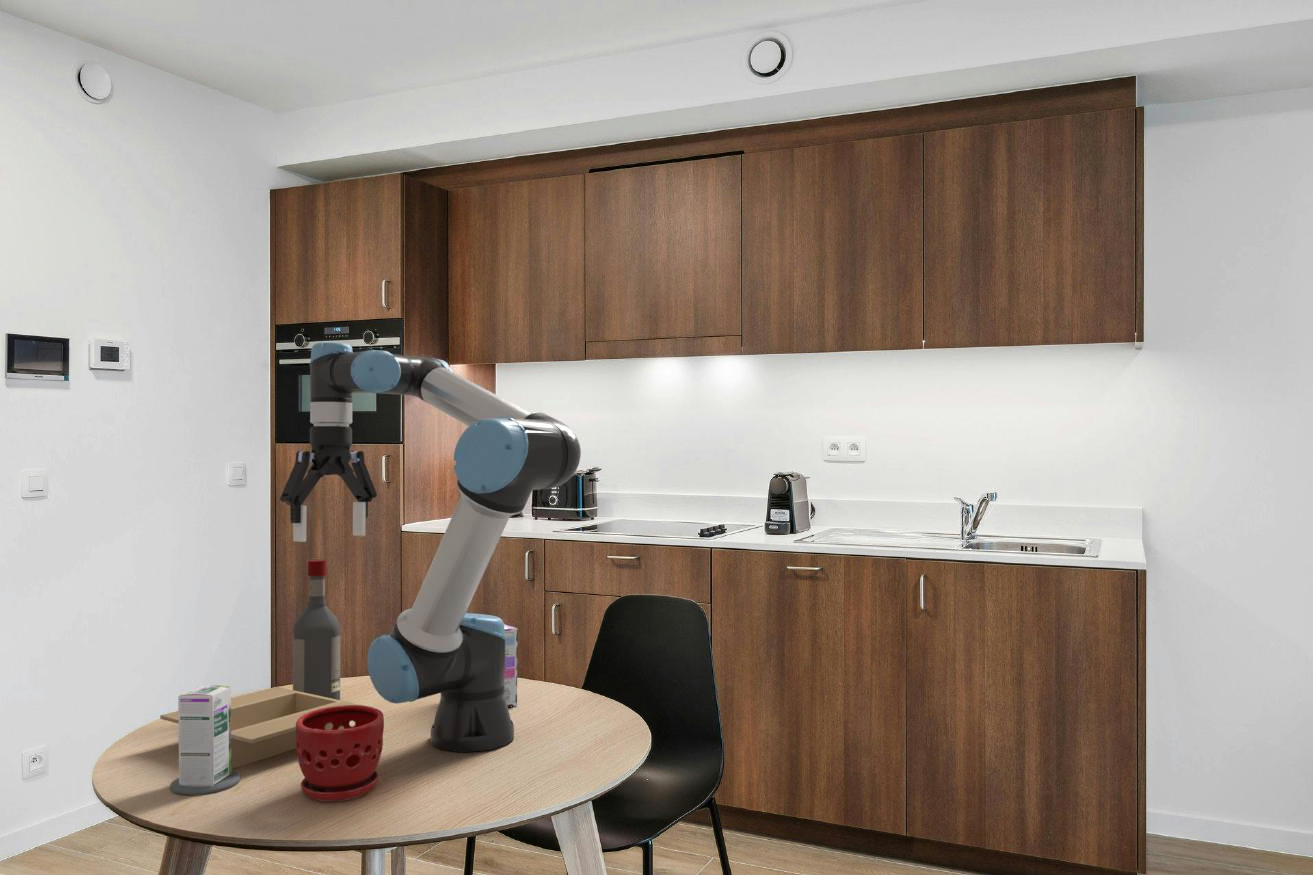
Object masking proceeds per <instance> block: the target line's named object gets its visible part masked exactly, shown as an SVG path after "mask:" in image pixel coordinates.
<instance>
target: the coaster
mask: <svg viewBox="0 0 1313 875" xmlns="http://www.w3.org/2000/svg"><path fill="white" fill-rule="evenodd" d="M240 781H241V774H240V773H239V772H237V771H235V770H232V773H231V775H229V776H227V777H226V778H224V779H222V780H221V781H219V782H218V783H216V784H215V785H214V786H213V787H199V786H182V785H179V777H177V778H175V779H174V780H173V781H171V783H170V791H171V792H172V793H173V794H176V795H181V796H203V795H209V794H210V795H211V794H215V793H218V792H219V793H220V792H223V791H225V790H228V789H231V788H233V787H235V786H237V785H238V784H239V783H240Z"/></svg>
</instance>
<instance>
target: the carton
mask: <svg viewBox="0 0 1313 875" xmlns="http://www.w3.org/2000/svg"><path fill="white" fill-rule="evenodd" d="M344 705H361V704H359V703H355V702H350V701H344V700H341V699H340V700H336V699H332V698H327V697H322V696H318V695H313V694H308V693H304V692H299V691H294V690H293V689H289V688H285V687H280V686H276V687H272V688H271V687H270V688H267V689H263V690H258V691H254V692H251V693H246V694H243V695H242V694H241V695H238V696H234V697H231V769H235V768H239V767H242V766H245V765H248V764H251V763H255V762H258V761H260V760H264V759H267V758H270V757H273V756H276V755H280V754H283V753H286V752H289V751H292V750H295V749H296V722H297V720H298V719H299V718H300V717H301V716H303V715H305V714H306V713H309V712H311V711H315V710H318V709H322V708H327V707H333V706H344ZM362 705H363V704H362ZM363 706H366V705H365V704H364V705H363ZM159 718H160V720H163V721H167V722H170V723H175V724H178V720H179V719H178V710H177V711H173V712H169V713H165V714H164V713H163V714H161V715H160V716H159ZM332 728H333V725H332V723H328V724H326V725H325V730H331V729H332ZM339 729H344V727H343V726H340V727H339ZM339 729H338V730H339ZM318 730H319V729H318ZM296 750H297V749H296Z"/></svg>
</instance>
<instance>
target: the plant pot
mask: <svg viewBox="0 0 1313 875" xmlns="http://www.w3.org/2000/svg"><path fill="white" fill-rule="evenodd" d="M350 722H354V725H352V726H351V725H350ZM328 723H332V725H333V728H332V729H331V730H325V725H326V724H328ZM340 726H343V727H344V729H339V727H340ZM318 729H319V730H318ZM338 729H339V730H338ZM384 729H385V717H384V713H383V712H382V710H380V709H378V708H375V707H373V706H370V705H369V706H367V705H365V706H363V704H360V705H344V706H333V707H327V708H322V709H318V710H315V711H311V712H309V713H306V714H305V715H303V716H301V717H300V718H299V719H298V720H297V722H296V756H297V761H298V765H299V769H300V770H301V773H302V775H303V777H304V778H303V779H302V781H301V783H300V788H301V791H302V792H303V793H304V794H305V796H307V797H309V798H310V799H312V800H316V801H321V802H332V803H333V802H343V801H349V800H355V799H357V798H359V797H362V796H364V795H366V794H369V792H371V791H372V790H374V788H375V787H376V786H377V785H378V784H379V783H378V782H379V779H380V776H379V773H378V771H376V769H377V767H378V765H379V762H380V759H381V756H382V753H383V752H382V751H383V745H384V741H383V740H384V739H383V737H384V736H383V735H384Z"/></svg>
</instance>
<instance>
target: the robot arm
mask: <svg viewBox="0 0 1313 875" xmlns="http://www.w3.org/2000/svg"><path fill="white" fill-rule="evenodd" d="M309 369H310V370H309V372H310V373H309V379H310V380H309V381H310V382H309V384H310V390H309V392H310V403H309V404H310V407H309V409H310V410H309V411H310V415H309V416H310V417H309V418H310V419H309V422H310V424H313V426H311V427H310V428H309V445H310V446H311V450H310V451H308V450H297V452H296V454H295V463H294V464H293V467H292V469H291V472H290V474H289V477H288V479H287V481H286V483H285V486H284V488H283V490H282V493H281V496H280V497H279V498H280V499H279V500H280V501H281V502H282V503H286V505H288V506H289V507H290V510H289V511H290V518H289V520H290V523H291V524H293V525H292V529H293V530H292V532H293V533H292V534H293V536H292V538H293V539H292V541H293V542H302V543H303V542H307V517H308V516H307V513H308V512H307V507H308V506H307V505H303V504H304V502H305V501H306V499H307V498H308V496H309V495H311V492H312V490H314V488H315V486H316V485H317V484H318V482H319V481H320V479H321V478H323V477H324V476H332V475H335V476H336V475H337V476H339V477H340V478H341V480H343V482H344V483H345V485H346V486H347V488H348V489H349V490H350V493H351V494H352V495H353V497H354V498H355V500H356V501H353V502H352V536H356V537H358V536H359V537H364V536H365V537H366V519H367V518H368V516H369V503H370V502H372V501H373V498H374V499H376V498H377V496H378V495H377V494H378V493H377V490H376V488H375V486H374V483H373V480H372V478H371V475H370V473H369V470H368V468H367V466H366V463H365V462H366V461H365V452H364V451H362V450H352V451H351V450H350V447H351V446H352V445H353V428H352V427H351V426H350V425H351V424H352V423H353V394H360V393H361V394H362V393H364V394H365V393H368V394H382V395H383V394H384V395H385V394H387V395H401V396H412V397H416V398H418V399H419V400H421V401H423V402H425V403H426V404H429V405H431V406H433V407H434V408H436V409H438V410H439V411H441V412H443V413H444V414H447V415H448V416H449V417H452V418H453V419H455V420H457V421H458V422H460V423H462V424H464V425H465V426H467V428H465V430H464V431H463V432H462V433H461V435H460V437H459V439H458V440H457V442H456V445H455V447H454V451H453V461H455V464H454V466H453V470H454V474H455V476H456V478H457V480H456V487H457V489H458V491H459V493H460V497H459V501H458V502H457V504H456V506H455V509H454V512H453V513H452V516H451V518H450V521H449V523H448V525H447V528H446V530H445V531H444V534H443V536H442V539H441V541H440V543H439V545H438V547H437V550H436V552H435V555H434V556H433V559H432V562H431V564H430V566H429V568H428V571H427V572H426V575H425V577H424V579H423V582H422V584H421V587H420V589H419V592H418V593H417V595H416V599H415V601H414V602H413V605H412V607H411V608H407V609H405V610H403V611H402V612H400V614H399V615H398V616H397V619H396V622H395V623H394V626H393V628H392V630H391V632H390V633H389V634H383V635H380V636H378V637H377V638H375V639H373V641H372V642H371V644H370V645H369V648H368V652H367V659H366V660H367V661H366V662H367V670H368V674H369V679H370V681H371V684H372V686H373V687H374V689H375V691H376V692H377V693H378V695H379V696H380V697H381V698H383V699H384V701H385V700H386V701H387V702H388V703H392V704H402V703H403V704H404V703H412V702H415V701H417V700H421V699H424V698H427V697H431V696H434V695H438V694H440V700H439V702H438V703H439V704H438V706H437V709H436V713H435V717H434V720H433V724H432V725H431V727H430V744H431V745H432V746H433V747H434V748H437V749H440V750H442V751H450V752H456V753H457V752H461V753H462V752H463V753H467V752H470V753H471V752H482V751H488V750H494V749H498V748H501V747H504V746H506V745H508V744H510V743H511V742H512V741H513V740H514V738H515V726H514V723H513V722H514V721H513V720H512V719H511V716H510V715H511V714H510V711H509V707H507V703H506V700H505V641H506V637H505V628H504V624H505V623H504V621H503V619H502V618H500V617H498V616H495V615H491V614H483V613H482V614H481V613H472V612H471V613H470V612H469V613H468V612H467V611H468V609H469V606H470V604H471V602H472V600H473V597H474V596H475V594H476V591H477V589H478V587H479V585H480V583H481V580H482V579H483V575H484V573H485V571H486V570H487V568H488V565H489V562H490V561H491V559H492V556H493V554H494V552H495V549H496V547H497V545H498V543H499V541H500V539H501V537H502V534H503V533H504V531H505V528H506V526H507V524H508V522H509V519H510V517H511V516H514V515H518V514H520V513H522V512H523V510H524V509H525V507H526V504H527V503H528V500H529V498H530V496H531V493H532V492H533V491H535V490H536V491H537V490H549V489H554V488H555V489H556V488H557V487H560V486H562V485H563V484H565V483H566V482H568V481H569V480H570V479H571V478H572V477H573V476H574V475H575V473H576V471H577V470H578V467H579V464H580V462H581V454H582V452H581V451H582V450H581V445H580V441H579V439H578V437H577V435H576V433H575V432H574V431H573V429H572V428H570V427H569V426H568V425H567V424H565V423H564V422H562V421H561V420H558V419H556V418H555V417H552V416H550V415H548V414H547V413H545V412H542V411H533V412H530V411H528V410H526V409H524V408H522V407H521V406H518V405H516V404H514V402H513V403H512V402H511V401H509V400H507V399H505V398H503V397H501V396H499V395H497V394H495V393H493V392H492V391H490V390H487V389H485V388H484V387H482V386H480V385H478V384H477V383H475V382H473V381H470V380H469V379H466V378H465V377H462V376H461V375H459V374H457V373H455V372H453V370H452V368H451V367H450V366H449V363H448V362H446V361H445V360H444V359H443V360H442V359H439V358H434V357H431V356H416V355H415V356H414V355H404V354H403V355H402V354H396V353H390V352H389V351H388V350H375V349H368V350H365V351H364V350H363V351H355V352H353V347H352V346H351V345H350V344H348V343H344V342H318V343H314V344H313V345H312V346H311V352H310V362H309ZM310 463H312V465H311V466H310ZM350 463H351V465H350ZM309 466H310V468H309ZM351 466H352V467H351ZM308 468H309V469H308Z"/></svg>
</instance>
